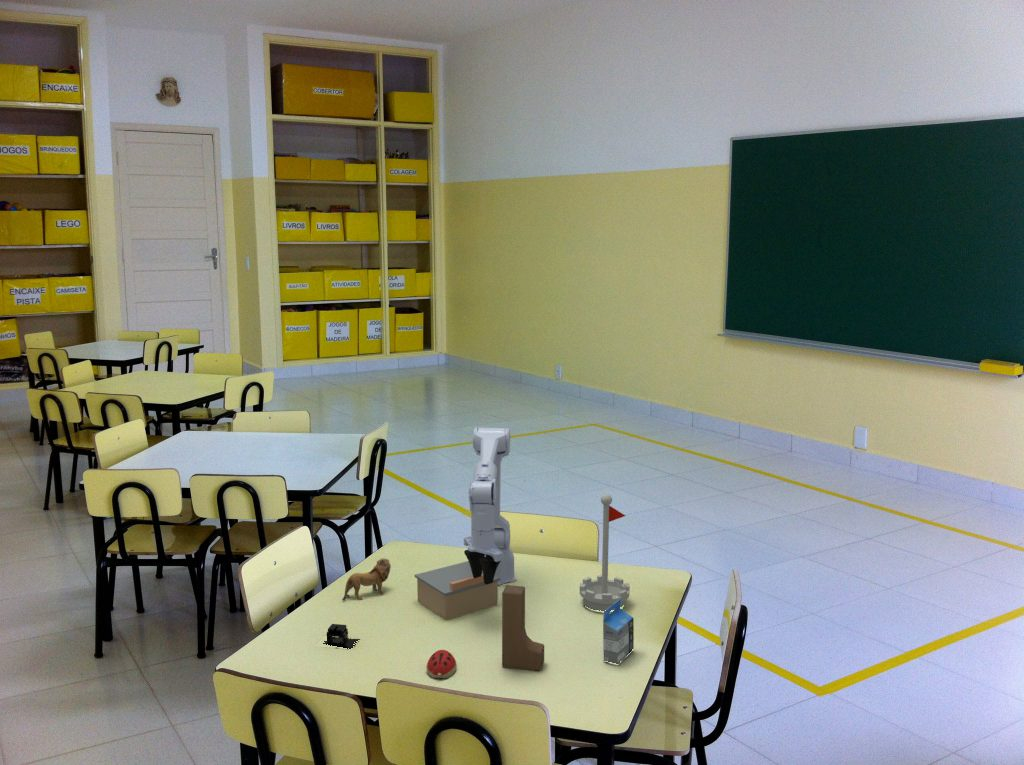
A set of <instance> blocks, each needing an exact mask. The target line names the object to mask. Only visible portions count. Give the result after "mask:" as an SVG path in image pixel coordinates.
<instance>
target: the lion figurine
mask: <svg viewBox="0 0 1024 765" xmlns="http://www.w3.org/2000/svg"><path fill="white" fill-rule="evenodd" d="M391 569H392V565H391V562H390V559H388V558H385V557H383V558H380V559H378V560H376V564H375V566H374V567H373V568H372V569H371V570H370V571H369V572H361V573H359V572H354V573H353V574H351V575H349V577H348V579H347V581H346V583H345V589H344V594H343V595H344V596H343V597H342V599H341V600H342V601H345V600H346V599H348V598H350V594H348V593H349V591H350V590H352V589H354V593H353V594H354V596H355V597H356V598H357V600H359V601H361V600H363V596H360V594H359V592H360V589H361V586H363V587H369V586H372V590H371V591H372V592H373V593H378V595H379V594H380V595H379V596H383V595H384V592H383V591H382V588H383V583H384V582H386V581H387V580H388V578H389V575H390V572H391ZM382 594H383V595H382Z"/></svg>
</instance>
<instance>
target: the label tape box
mask: <svg viewBox="0 0 1024 765" xmlns="http://www.w3.org/2000/svg"><path fill="white" fill-rule="evenodd" d="M620 603H621V599H620V600H618V601H617V602H615V603H614V604H613V605H612V606H610V607H609V608H608V609H607V610H606V611H604V613H603V619H602V624H603V625H602V634H603V635H602V639H603V640H602V643H603V644H602V645H603V647H602V648H603V662H604V661H608V662H612V663H616V664H619V663H620V661H622V660H623V659H624V658H625V657H626V656H627V655H628V654H629V653H630V652H631V651H632V649H634V647H635V644H634V640H635V637H634V636H635V635H634V631H635V630H634V628H635V626H634V623H635V622H634V621H635V620H634V617H633V616H632V615H630V614H629V613H627V612H626V611H625V610H624V609H620ZM612 608H613V609H614V608H615V609H614V611H613V612H611V613H609V612H610V611H611V610H612ZM634 650H635V649H634ZM632 652H633V651H632ZM632 652H631V653H632ZM631 653H630V654H631ZM630 654H629V655H630ZM629 655H628V656H629ZM628 656H627V657H628ZM627 657H626V658H627ZM626 658H625V659H626ZM625 659H624V660H625ZM624 660H623V661H624ZM623 661H622V662H623ZM620 664H621V663H620ZM620 664H619V665H620Z"/></svg>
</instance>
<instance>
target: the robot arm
mask: <svg viewBox="0 0 1024 765" xmlns="http://www.w3.org/2000/svg"><path fill="white" fill-rule="evenodd" d="M472 446H473V447H472V449H473V450H474V452H475V453H476V455H477V456H479V459H480V461H479V462H477V463H476V464H475V466H474V470H473V477H472V482H470V483H469V486H468V502H469V509H470V510H469V511H470V516H471V517H470V521H471V522H470V523H471V524H470V528H471V530H470V532H471V533H470V534H471V536H466V537H463V545H464V546H465V547H467V546H468V547H467V549H466V550H464V555H465V557H466V559H467V561H469V563H470V567H471V570H472V574H473V578H477V577H481V576H482V570H483V579H484V583H485V584H486V585H487V584H491V583H493V579H494V576H497V577H499V578H500V581H498V586H500V585H503V584H507V583H510V582H514V581H516V580H517V579H516V577H515V555H514V552H513V550H512V549H511V547H510V546H511V529H510V528H511V527H510V526H511V524H510V522H509V520H507V519H506V518H505V517H504V516H502V515H501V479H502V478H501V476H502V475H501V471H502V469H501V468H502V467H501V465H502V461H503V458H505V457H508V456H509V455H510V452H511V451H510V450H511V430H510V429H509V427H478V426H475V427H474V428H473V432H472Z"/></svg>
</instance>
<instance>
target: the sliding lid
mask: <svg viewBox="0 0 1024 765" xmlns="http://www.w3.org/2000/svg"><path fill="white" fill-rule="evenodd" d="M414 578H416V579H419V580H420V581H422V582H423V583H425V584H427V585H428V586H430V587H431V588H433V589H435V590H436V591H438V592H439V593H441V594H443V595H444V596H446V595H450V594H453V593H457V592H460V591H464V590H468V589H471V588H475V587H478V586H482V585H485V583H484V579H483V570H482V576H481V577H477V578H473V574H472V570H471V567H470V563H469V561H468V560H467V561H464V562H460V563H455V564H452V565H447V566H442V567H440V568H436V569H432V570H428V571H424V572H420V573H416V574H414ZM496 581H500V578H499V577H497V576H494V579H493V582H496Z"/></svg>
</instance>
